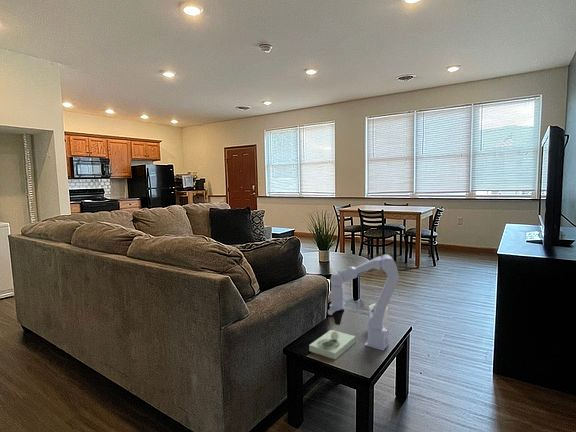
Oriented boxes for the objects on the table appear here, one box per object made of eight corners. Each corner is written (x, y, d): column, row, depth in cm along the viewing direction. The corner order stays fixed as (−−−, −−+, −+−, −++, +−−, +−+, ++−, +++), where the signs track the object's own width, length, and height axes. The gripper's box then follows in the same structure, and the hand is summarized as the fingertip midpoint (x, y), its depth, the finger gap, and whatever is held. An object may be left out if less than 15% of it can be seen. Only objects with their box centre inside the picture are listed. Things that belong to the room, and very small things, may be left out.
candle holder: (368, 331, 179) (367, 309, 178) (370, 323, 188) (370, 302, 187) (387, 333, 176) (387, 310, 175) (388, 325, 185) (388, 304, 184)
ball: (340, 332, 163) (336, 339, 161) (341, 336, 165) (336, 343, 163) (332, 328, 165) (328, 335, 163) (333, 332, 167) (329, 339, 166)
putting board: (355, 342, 167) (355, 336, 167) (335, 359, 152) (335, 353, 152) (331, 335, 176) (331, 329, 176) (309, 351, 160) (309, 345, 160)
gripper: (337, 291, 174) (337, 317, 175) (322, 300, 162) (322, 327, 164) (349, 294, 169) (350, 320, 171) (335, 302, 158) (335, 331, 159)
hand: (337, 324), depth 167 cm, fingers closed
